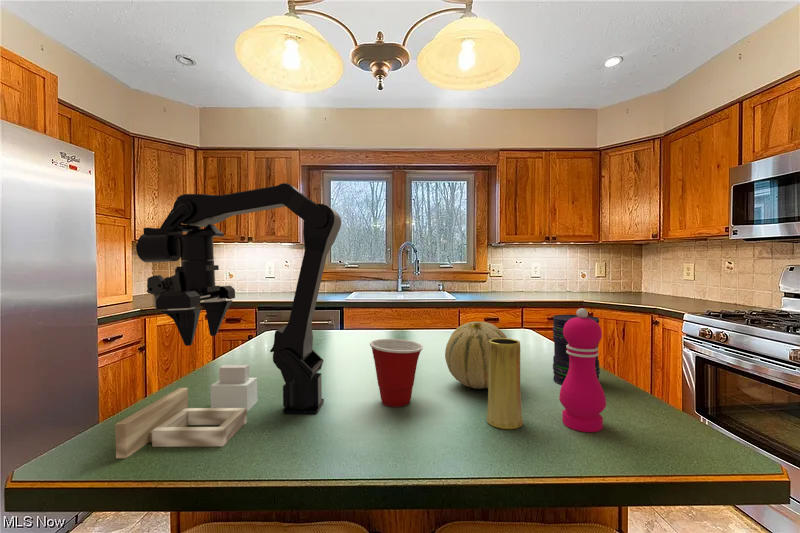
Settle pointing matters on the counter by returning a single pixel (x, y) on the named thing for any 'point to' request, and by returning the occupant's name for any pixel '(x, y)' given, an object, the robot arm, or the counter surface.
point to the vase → (504, 384)
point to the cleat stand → (177, 425)
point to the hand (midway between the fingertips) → (201, 340)
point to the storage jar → (564, 349)
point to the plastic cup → (395, 369)
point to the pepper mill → (582, 375)
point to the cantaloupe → (471, 353)
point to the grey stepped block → (234, 388)
